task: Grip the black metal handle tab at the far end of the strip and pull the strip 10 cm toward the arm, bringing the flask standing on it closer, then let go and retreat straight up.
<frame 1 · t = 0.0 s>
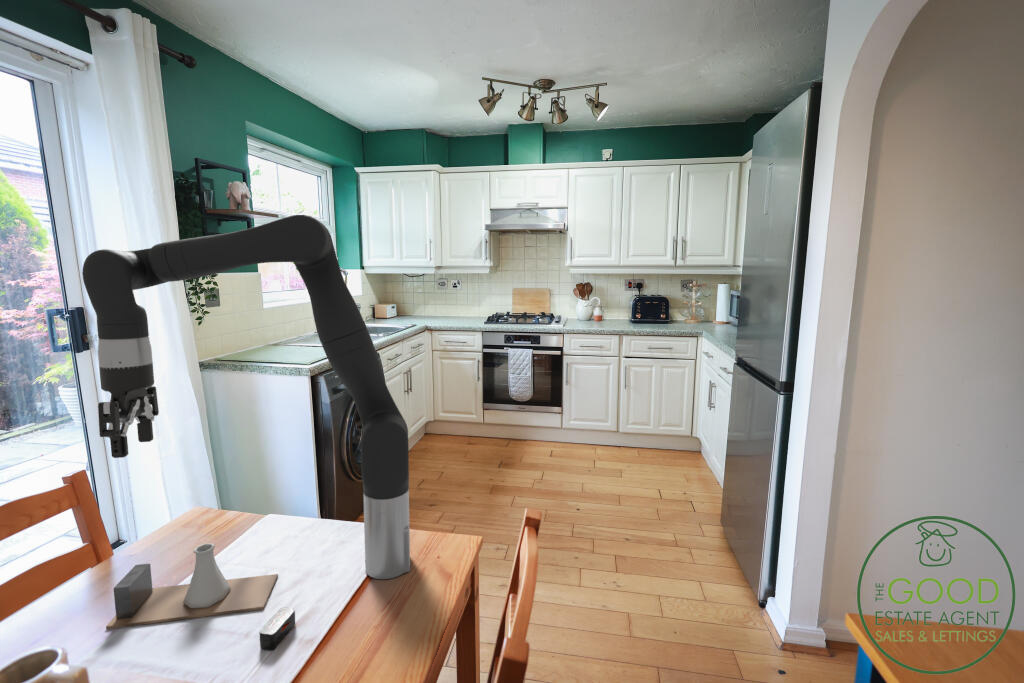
hand: (133, 448, 87), 29 cm above the table, tool pointing down, fingers open, 8 cm apart
strip: (198, 584, 88), point 3 cm above the table, slide at 0.0 cm, touching flask
flask: (207, 597, 89), resting on strip
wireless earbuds: (277, 635, 81), on the table
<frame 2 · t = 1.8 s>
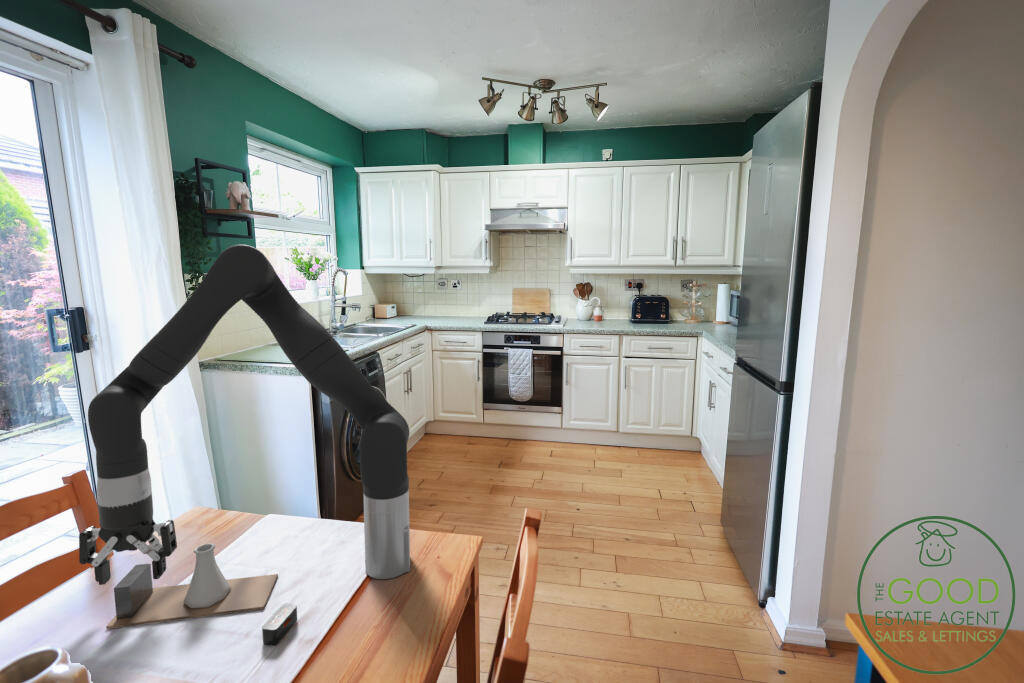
hand: (131, 579, 86), 6 cm above the table, tool pointing down, fingers open, 8 cm apart
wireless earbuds: (279, 631, 82), on the table
everything else where it was.
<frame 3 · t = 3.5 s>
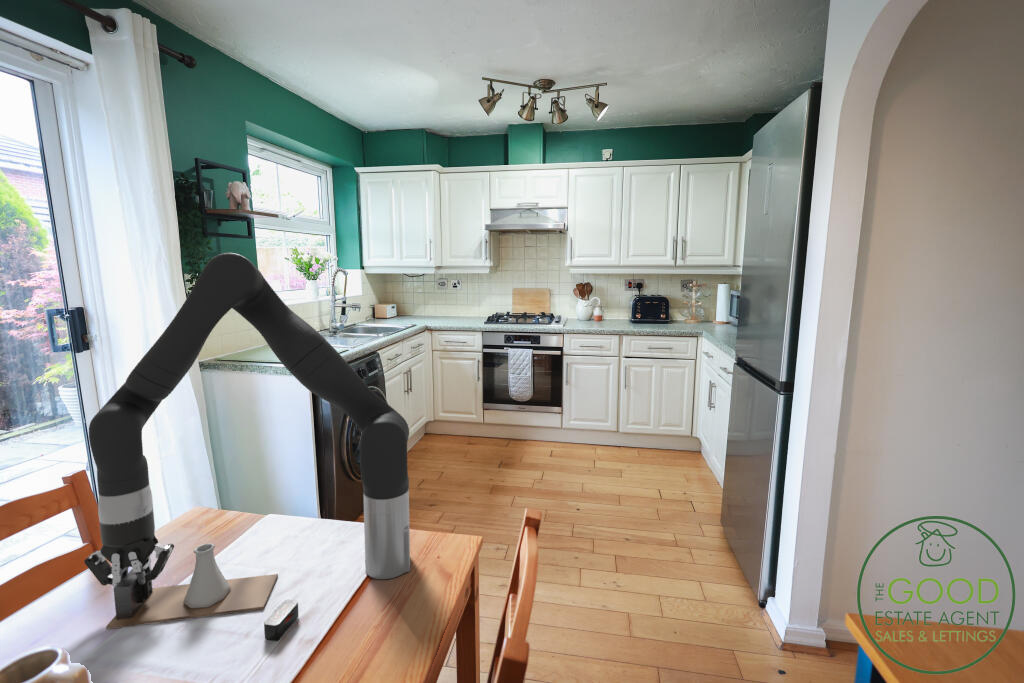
hand: (134, 600, 86), 2 cm above the table, tool pointing down, fingers closed on strip, 2 cm apart
strip: (198, 584, 88), point 3 cm above the table, slide at 0.0 cm, touching gripper, flask
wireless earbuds: (281, 626, 83), on the table
everything else where it was.
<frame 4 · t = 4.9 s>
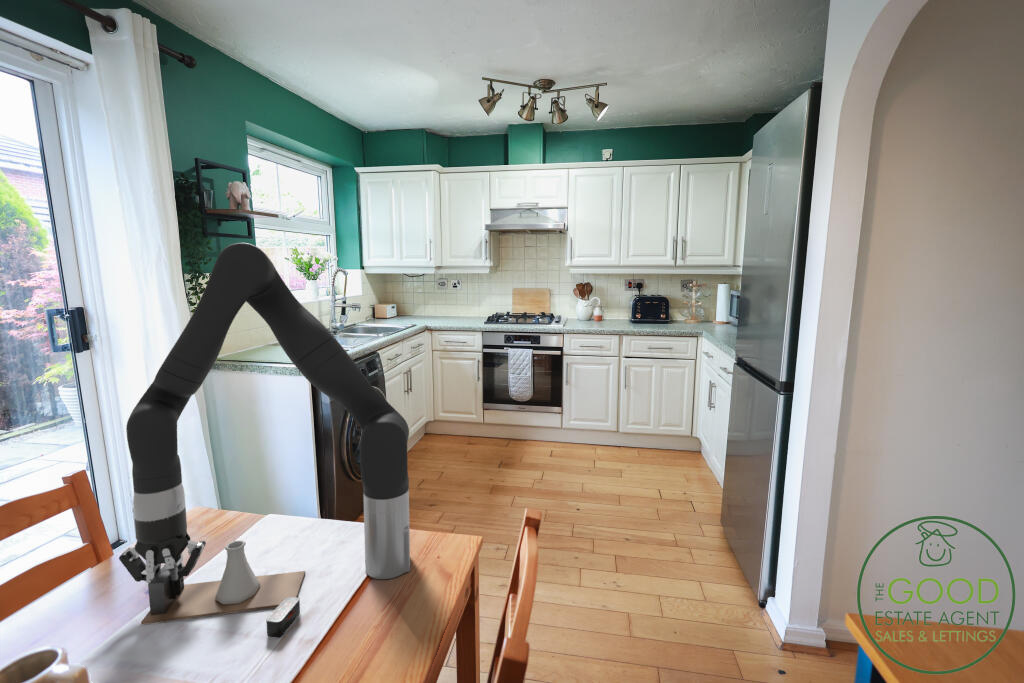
hand: (167, 596, 87), 2 cm above the table, tool pointing down, fingers closed on strip, 2 cm apart
strip: (229, 580, 89), point 3 cm above the table, slide at 5.3 cm, touching gripper, flask
flask: (238, 594, 90), resting on strip
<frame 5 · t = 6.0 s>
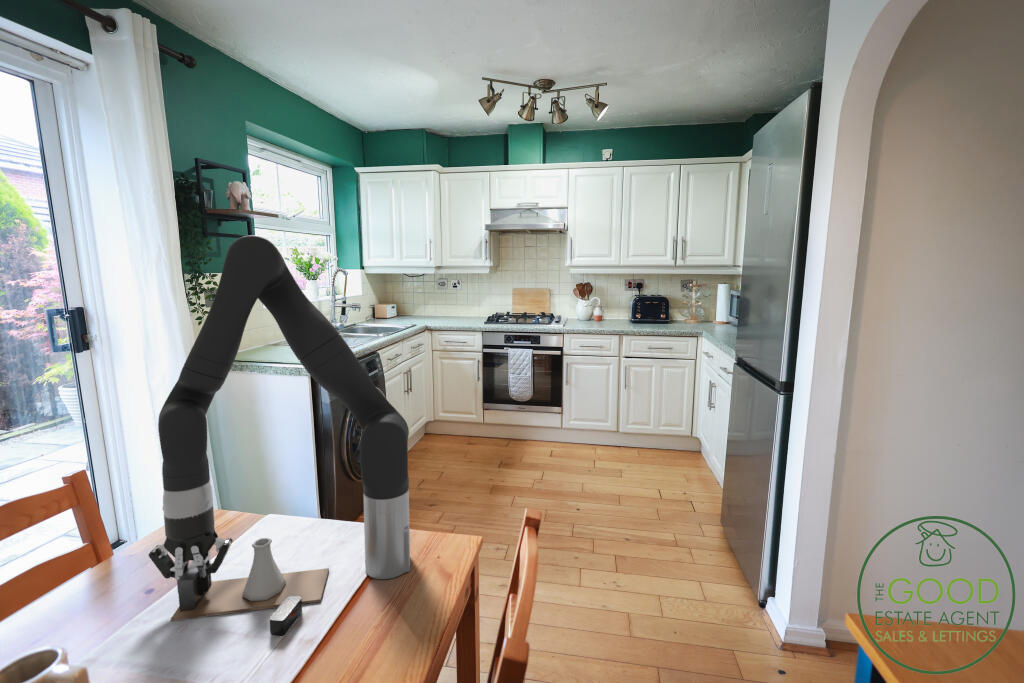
hand: (195, 593, 88), 2 cm above the table, tool pointing down, fingers closed on strip, 2 cm apart
strip: (255, 577, 90), point 3 cm above the table, slide at 9.9 cm, touching gripper, flask
flask: (264, 591, 91), resting on strip
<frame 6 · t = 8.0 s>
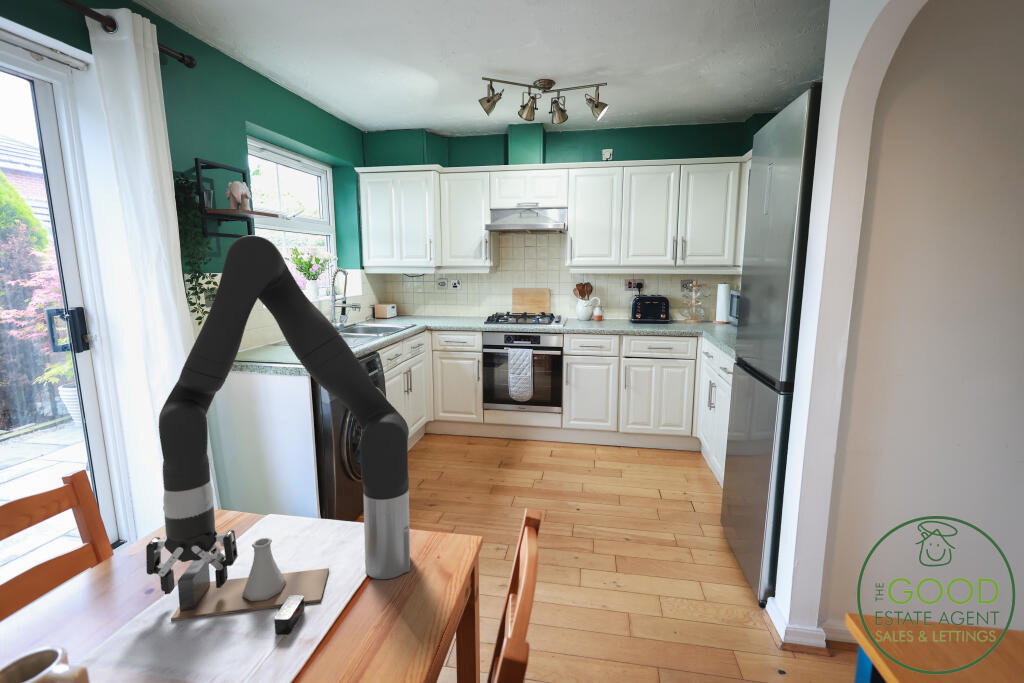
hand: (195, 588, 88), 3 cm above the table, tool pointing down, fingers open, 8 cm apart
strip: (255, 577, 91), point 3 cm above the table, slide at 9.9 cm, touching flask
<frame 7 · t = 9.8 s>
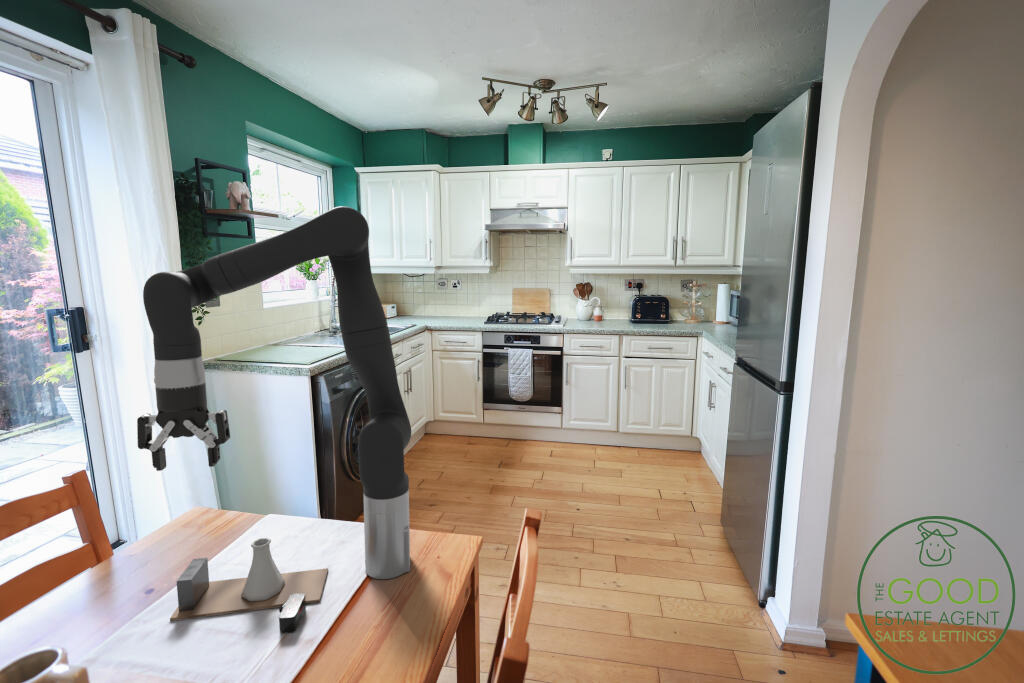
hand: (187, 467, 88), 26 cm above the table, tool pointing down, fingers open, 8 cm apart
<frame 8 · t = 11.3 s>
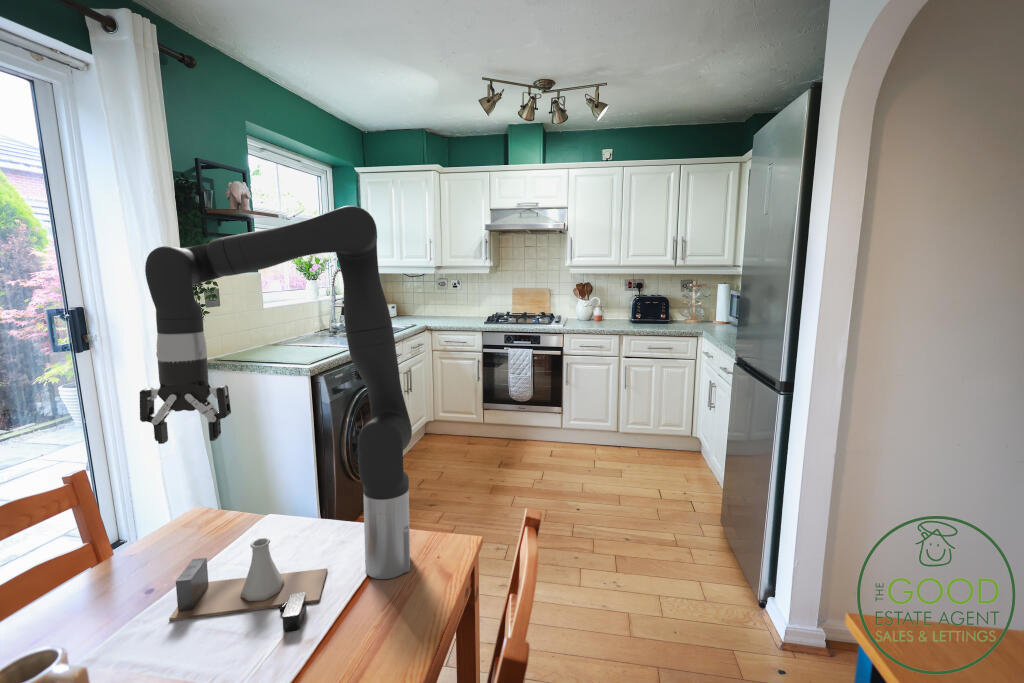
hand: (188, 441, 89), 30 cm above the table, tool pointing down, fingers open, 8 cm apart
at the end: strip slide at 9.6 cm; flask inside the target area (0.9 cm from its centre), resting on strip; flask tilted 0° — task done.
